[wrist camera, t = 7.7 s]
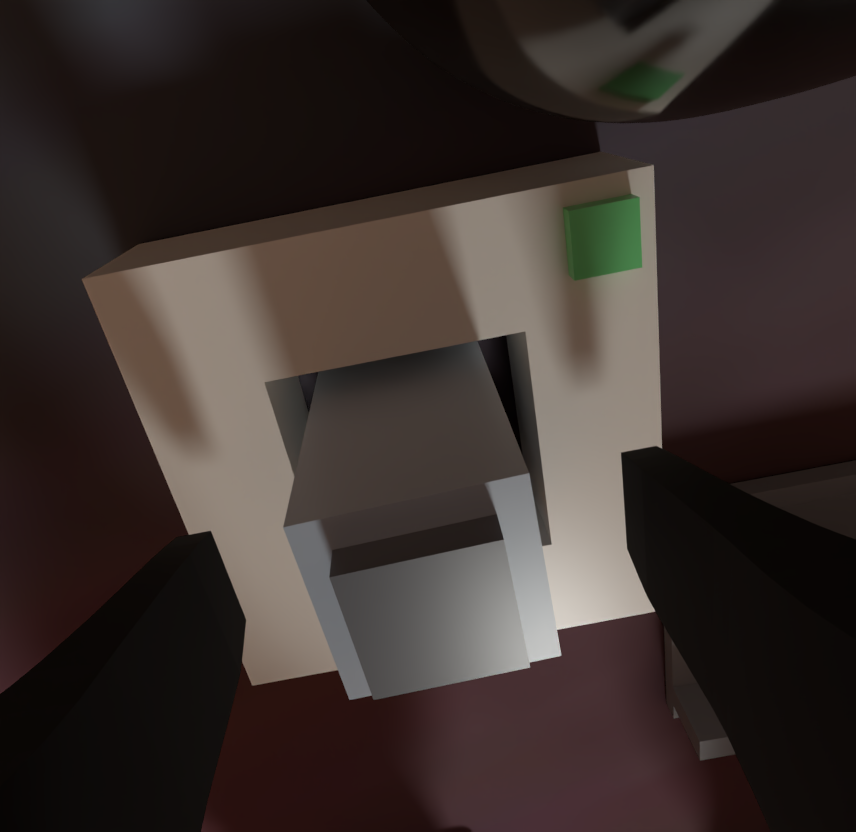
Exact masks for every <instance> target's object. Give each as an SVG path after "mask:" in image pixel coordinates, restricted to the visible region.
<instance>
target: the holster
mask: <svg viewBox="0 0 856 832" xmlns="http://www.w3.org/2000/svg"><path fill="white" fill-rule="evenodd" d="M731 485H733V486H734V487H736V488H738V489H740V490H742V491H744V492H746V493H748V494H750V495H752V496H754V497H756V498H759V499H761V500H763V501H765V502H767V503H769V504H771V505H773V506H775V507H778V508H780V509H782V510H784V511H787V512H789V513H791V514H794V515H796V516H798V517H800V518H803V519H805V520H807V521H810V522H812V523H814V524H817V525H819V526H822V527H824V528H827V529H829V530H832V531H834V532H837V533H840V534H842V535H845V536H848V537H851V538H853V539H856V460H855V461H850V462H844V463H839V464H834V465H828V466H823V467H818V468H812V469H807V470H802V471H796V472H791V473H786V474H780V475H775V476H770V477H764V478H759V479H754V480H748V481H743V482H738V483H733V484H731ZM664 643H665V674H666V703H667V705H668V707H669V710H670V712H671V714H672V716H673V718H674V719H675V718H680V720H681V722H682V724H683V726H684V729H685V731H686V733H687V735H688V737H689V739H690V741H691V743H692V745H693V747H694V749H695V752H696V754H697V756H698V758H699V760H700V761H701V760H706V759H712V758H718V757H723V756H729V755H734V754H735V752H734V750H733V747H732V745H731V743H730V741H729V739H728V737H727V735H726V733H725V731H724V729H723V727H722V725H721V723H720V721H719V720H718V718H717V716H716V714H715V712H714V710H713V708H712V707H711V705H710V703H709V702H708V700H707V698H706V697H705V695H704V693H703V691H702V690H701V688H700V686H699V685H698V683H697V681H696V680H695V678H694V676H693V675H692V673H691V671H690V669H689V668H688V666H687V664H686V663H685V661H684V659H683V658H682V656H681V654H680V653H679V651H678V649H677V647H676V646H675V644H674V642H673V641H672V639H671V637H670V636H669V634H668V632H667V630H666V629H665V627H664Z"/></svg>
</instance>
